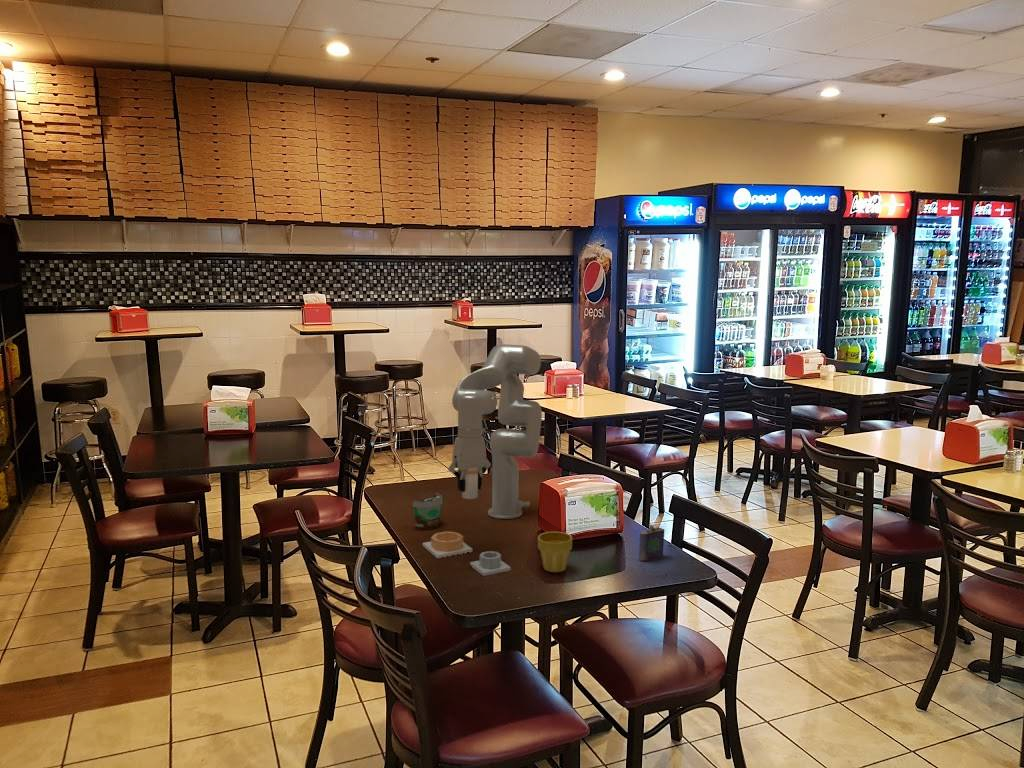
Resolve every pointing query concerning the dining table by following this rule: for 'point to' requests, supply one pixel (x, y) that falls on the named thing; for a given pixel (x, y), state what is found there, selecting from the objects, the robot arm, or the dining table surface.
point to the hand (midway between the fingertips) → (469, 489)
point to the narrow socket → (490, 564)
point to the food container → (427, 512)
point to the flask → (651, 544)
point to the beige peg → (471, 483)
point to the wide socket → (447, 544)
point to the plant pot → (554, 550)
